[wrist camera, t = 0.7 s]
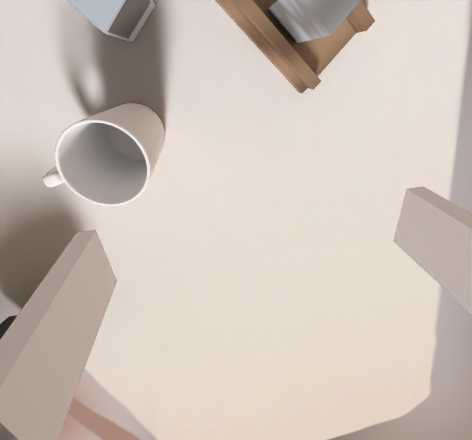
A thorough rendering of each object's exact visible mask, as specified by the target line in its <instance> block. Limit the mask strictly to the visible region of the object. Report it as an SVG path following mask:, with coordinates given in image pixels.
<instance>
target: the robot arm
mask: <svg viewBox="0 0 472 440" xmlns="http://www.w3.org/2000/svg"><path fill="white" fill-rule="evenodd" d="M394 242H395V243H396V244H397V245H398V246H399V247H400V248H401V249H402V250H403V251H404V252H405V253H406V254H408V255H409V256H410V257H411V258H412V259H413V260H414V261H415V262H416V263H417V264H418V265H419V266H420V267H422V268H423V269H424V270H425V271H426V272H427V273H428V274H429V275H430V276H431V277H432V278H433V279H434V280H435V281H437V282H438V283H439V284H440V285H441V286H442V287H443V288H444V289H445V290H446V291H447V292H448V293H449V294H451V295H452V296H453V297H454V298H455V299H456V300H457V301H458V302H459V303H460V304H461V305H462V306H463V307H465V308H466V309H467V310H468V311H469V312H470V313H471V314H472V214H471V213H469V212H468V211H466V210H464V209H462V208H460V207H458V206H457V205H455V204H453V203H452V202H450V201H448V200H446V199H444V198H443V197H441V196H439V195H437V194H436V193H434V192H432V191H430V190H428V189H427V188H425V187H417V188H410V189H406V193H405V197H404V201H403V205H402V209H401V213H400V217H399V221H398V225H397V229H396V233H395V237H394ZM116 282H117V280H116V278H115V275H114V273H113V271H112V268H111V266H110V263H109V261H108V258H107V256H106V254H105V251H104V249H103V246H102V244H101V241H100V239H99V237H98V234H97V232H96V230H94V231H86V232H79V233H76V234H75V235H74V237H73V238H72V240H71V241H70V243H69V244H68V245H67V247H66V248H65V250H64V251H63V252H62V254H61V255H60V257H59V258H58V259H57V261H56V262H55V264H54V265H53V266H52V268H51V269H50V271H49V272H48V273H47V275H46V276H45V278H44V279H43V280H42V282H41V283H40V285H39V286H38V287H37V289H36V290H35V292H34V293H33V295H32V296H31V297H30V299H29V300H28V302H27V303H26V304H25V306H24V307H23V309H22V310H21V311H20V313H19V314H18V315H17V316H10V317H8V318H7V319H6V320H5V321H3V322H2V323H1V324H0V440H58V437H59V435H60V432H61V429H62V427H63V424H64V421H65V419H66V416H67V413H68V411H69V408H70V405H71V403H72V400H73V397H74V395H75V392H76V389H77V386H78V384H79V381H80V378H81V376H82V373H83V370H84V368H85V365H86V362H87V360H88V357H89V354H90V352H91V349H92V346H93V344H94V341H95V338H96V336H97V333H98V330H99V328H100V325H101V322H102V319H103V317H104V314H105V311H106V309H107V306H108V303H109V301H110V298H111V295H112V293H113V290H114V287H115V285H116Z"/></svg>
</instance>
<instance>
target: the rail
mask: <svg viewBox="0 0 472 440" xmlns="http://www.w3.org/2000/svg"><path fill="white" fill-rule="evenodd" d="M216 2H217V3H218V4H219V5H220V6H221V7H222V8H223V9H224V10H225V11H226V13H227V14H228V15H229V16H230V17H231V18H232V19H233V20H234V21H235V22H236V24H237V25H238V26H239V27H240V28H241V29H242V30H243V31H244V32H245V33H246V35H247V36H248V37H249V38H250V39H251V40H252V41H253V42H254V43H255V44H256V46H257V47H258V48H259V49H260V50H261V51H262V52H263V53H264V54H265V55H266V56H267V58H268V59H269V60H270V61H271V62H272V63H273V64H274V65H275V66H276V67H277V69H278V70H279V71H280V72H281V73H282V74H283V75H284V76H285V77H286V78H287V80H288V81H289V82H290V83H291V84H292V85H293V86H294V87H295V88H296V89H297V91H298V92H300V93H303V92H304V91H305V90H306V89H307V88H310V89H315V87H316V86H317V85H318V84H319V83H320V82H321V80H320V79H319V78H318V77H317V76H318V75H319V74H320V73H321V72H322V71H323V70H324V69H325V67H326V66H327V65H328V64H329V63H330V62H331V61H332V59H333V58H334V57H335V56H336V55H337V54H338V53H339V52H340V50H341V49H342V48H343V47H344V46H345V45H346V44H347V43H348V41H349V40H350V39H351V38H352V37H353V36H354V35H355V34H356V33H358V32H362V31H366V30H367V29H368V28H369V27H370V26H371V25H372V24H373V23H374V22H375V20H374V19H373V17H372V16H371V14H370V13H369V11H368V10H367V8H366V7H365V5H364V4H363V2H362V1H361V0H216Z"/></svg>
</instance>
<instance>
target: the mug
mask: <svg viewBox="0 0 472 440" xmlns="http://www.w3.org/2000/svg"><path fill="white" fill-rule="evenodd" d="M164 141H165V130H164V126H163V124H162V122H161V120H160V118H159V117H158V116H157V114H156V113H155V112H154V111H152V110H151V109H150V108H148V107H146V106H144V105H141V104H138V103H126V104H123V105H119V106H116V107H114V108H111V109H109V110H106V111H104V112H101V113H98V114H96V115H93V116H90V117H88V118H85V119H83V120H81V121H79V122H76V123H74V124H72V125H70V126H69V127H68V128H66V129H65V130H64V131H63V132H62V134H61V135H60V137H59V138H58V141H57V143H56V147H55V163H56V166H55V167H54V168H52V169H51V170H50V171H49V172H47V174H46V175H45V176H44V177H43V178H42V179H43V182H44V183H45V185H46V186H48V187H54V186H56V185H59V184H61V183H63V182H65V184H66V185H67V186H68V187H69V188H70V189H71V190H72V191H73V192H75V193H76V194H77V195H79V196H80V197H82V198H84V199H85V200H88V201H90V202H93V203H96V204H100V205H106V206H117V205H122V204H126V203H128V202H131V201H133V200H134V199H136V198H137V197H138V196H139V195H140V194H141V193H142V192H143V191H144V190H145V188H146V186H147V184H148V181H149V179H150V177H151V175H152V173H153V170H154V168H155V165H156V163H157V160H158V158H159V155H160V153H161V150H162V147H163V145H164Z"/></svg>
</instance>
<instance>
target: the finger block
mask: <svg viewBox="0 0 472 440" xmlns="http://www.w3.org/2000/svg"><path fill="white" fill-rule="evenodd" d="M66 1H67V2H68V3H69V4H70V5H72V6H73V7H74V8H75V9H76V10H77V11H79V12H80V13H81V14H82V15H83V16H84V17H86V18H87V19H88V20H89V21H90V22H91V23H92V24H94V25H95V26H96V27H97V28H98V29H99V30H101V31H102V32H103V33H104V34H107V35H110V36H113V37H117V38H120V39H123V40H126V41H129V42H134V40H135V39H136V37H137V35H138V34H139V32H140V30H141V29H142V27H143V25H144V24H145V22H146V21H147V19H148V17H149V16H150V14H151V12H152V11H153V9H154V7H155V6H156V4H155V3H154V2H153V0H66Z"/></svg>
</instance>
